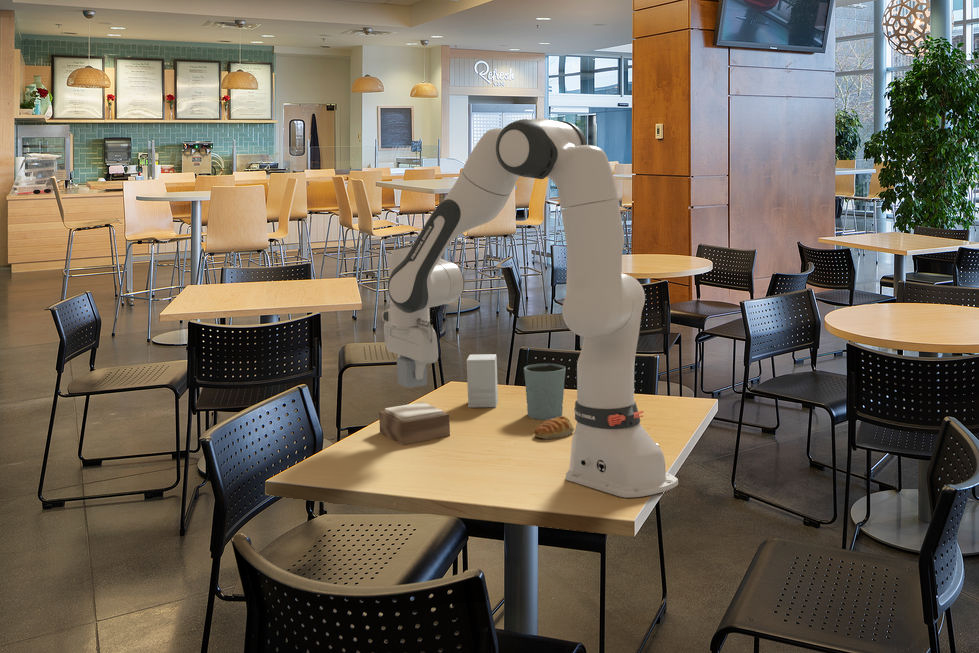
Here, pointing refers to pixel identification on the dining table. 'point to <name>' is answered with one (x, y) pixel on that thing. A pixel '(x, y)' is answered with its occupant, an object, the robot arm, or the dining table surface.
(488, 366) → the supplement box
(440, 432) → the walnut block
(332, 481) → the dining table surface
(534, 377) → the teal cup
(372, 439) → the dining table surface
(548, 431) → the pastry
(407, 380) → the slate block
